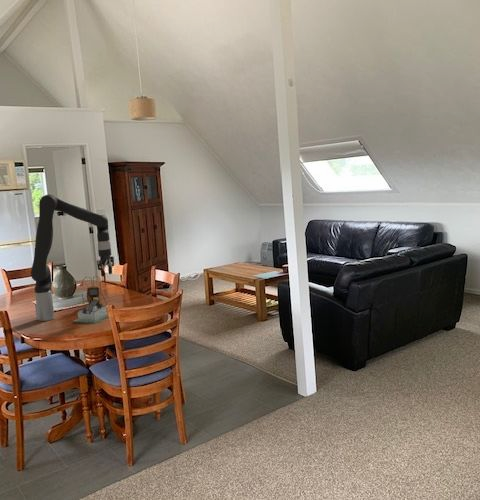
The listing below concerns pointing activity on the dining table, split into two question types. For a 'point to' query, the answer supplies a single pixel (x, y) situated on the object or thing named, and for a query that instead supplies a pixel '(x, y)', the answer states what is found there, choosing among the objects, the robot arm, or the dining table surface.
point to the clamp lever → (92, 304)
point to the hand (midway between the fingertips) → (106, 275)
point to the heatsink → (92, 315)
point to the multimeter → (93, 293)
